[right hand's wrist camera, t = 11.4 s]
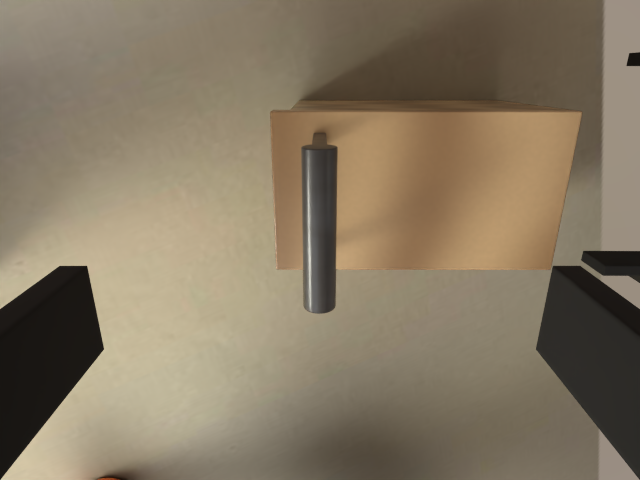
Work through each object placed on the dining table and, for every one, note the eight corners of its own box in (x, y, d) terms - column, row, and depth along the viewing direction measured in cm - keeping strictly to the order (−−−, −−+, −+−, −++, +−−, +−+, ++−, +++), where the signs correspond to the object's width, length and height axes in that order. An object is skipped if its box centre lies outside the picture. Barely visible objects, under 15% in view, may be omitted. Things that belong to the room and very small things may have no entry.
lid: (277, 261, 27) (261, 332, 20) (272, 109, 24) (250, 124, 17) (541, 262, 27) (625, 332, 20) (571, 109, 24) (684, 124, 17)
